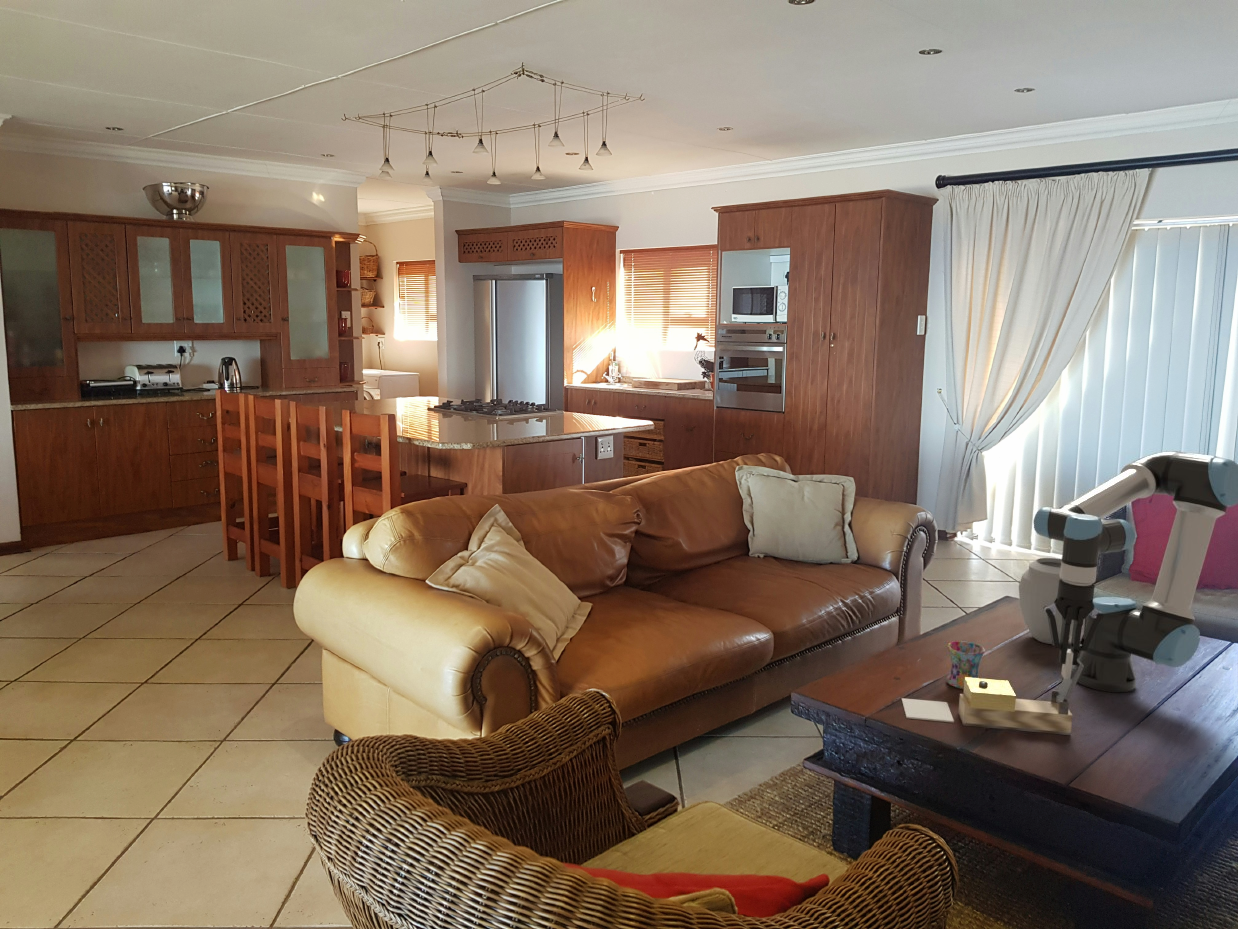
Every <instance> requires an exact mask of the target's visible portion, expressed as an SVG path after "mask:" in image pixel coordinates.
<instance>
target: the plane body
mask: <svg viewBox="0 0 1238 929" xmlns="http://www.w3.org/2000/svg"><path fill="white" fill-rule="evenodd" d="M1057 692H1058V690H1054V689H1052V690H1051V697H1050V701H1048V700H1047V701H1046V700H1038V699H1037V700H1035V699H1025V698H1016V702H1015V712H1012V711H1001V710H990V709H979V708H970V706H969V704H968V702H967V700H966V697H965V695H964V693H959V699H958V700H959V701H958V710H957V711H958V712H957V713H958V715H959V718H960V721H961V723H962V725H963V726H967V727H968V726H969V727H978V728H979V727H981V728H989V729H991V728H992V729H1001V730H1011V731H1020V732H1021V731H1023V732H1031V733H1042V734H1044V733H1045V734H1055V735H1066V736H1071V732H1072V725H1073V714H1072V712H1071V711H1070V709H1069V706H1070V702H1069V701H1068V702H1063V701H1059V705H1058V703H1057V702H1056V700H1055V699H1054V696H1056V694H1057Z"/></svg>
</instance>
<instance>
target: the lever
mask: <svg viewBox="0 0 1238 929" xmlns="http://www.w3.org/2000/svg"><path fill="white" fill-rule="evenodd" d="M1083 668H1084V665H1083V664H1082V663H1081V662H1080V661H1079V659H1078V657H1077V664H1076V665H1072V670H1071V678H1070V679H1064V678H1063V679H1062V681H1061V683H1060V686H1059V687H1058V690H1057V691H1058V692H1057V694H1056V696H1054V699H1055V700H1056V702H1057V703H1058V705H1059V701H1063V702H1069V699H1070V698H1071V695H1072V693H1073V691H1074V689H1075V687H1076V684H1077V683H1078V682H1077V680H1078V678H1079V676H1080V674H1081V672H1082V670H1083Z"/></svg>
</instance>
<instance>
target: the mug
mask: <svg viewBox="0 0 1238 929" xmlns="http://www.w3.org/2000/svg"><path fill="white" fill-rule="evenodd" d="M947 648H948V651H949V655H950V661H951V662H950V663H951V664H950V666H951V667H950V671H949V674H948V676H947V677H946V682H947V684H949V685H950V686H952V687H955V688H957V689H961V690H964V680H965V677H968V678H979V667H980V663H981V659H982V657H983V656H984V654H985V653H986V649H985V648H984V647H983V645H981V644H978V643H975V642H970V641H966V640H965V641H963V640H962V641H961V640H960V641H959V640H958V641H957V640H955V641H951V642H948V643H947Z"/></svg>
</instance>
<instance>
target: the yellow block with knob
mask: <svg viewBox="0 0 1238 929" xmlns="http://www.w3.org/2000/svg"><path fill="white" fill-rule="evenodd" d="M962 694H964V695H965V697H966V700H967V702H968V704H969V706H970V708H979V709H990V710H1001V711H1012V712H1015V702H1016V699H1017V695H1016V693H1015V691H1014V689H1013V687H1012V685H1011V684H1010V682H1009V680H1001V679H989V678H968V677H965V680H964V689H963V693H962Z"/></svg>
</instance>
